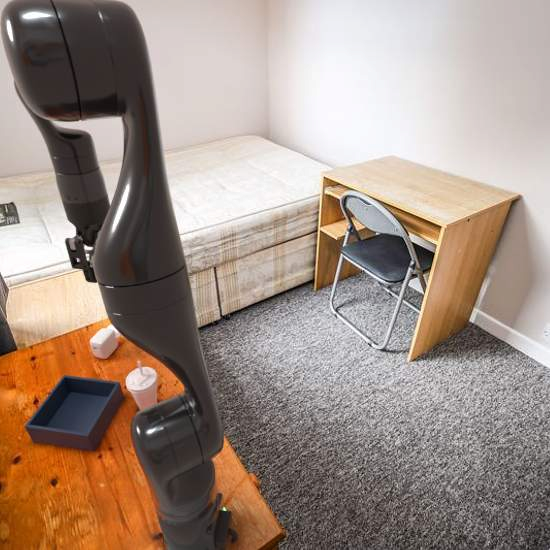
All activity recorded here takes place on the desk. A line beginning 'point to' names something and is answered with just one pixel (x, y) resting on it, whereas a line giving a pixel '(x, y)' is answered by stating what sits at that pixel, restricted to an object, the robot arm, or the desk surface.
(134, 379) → the smoothie
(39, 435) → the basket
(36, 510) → the desk surface
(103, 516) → the desk surface
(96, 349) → the power adapter
